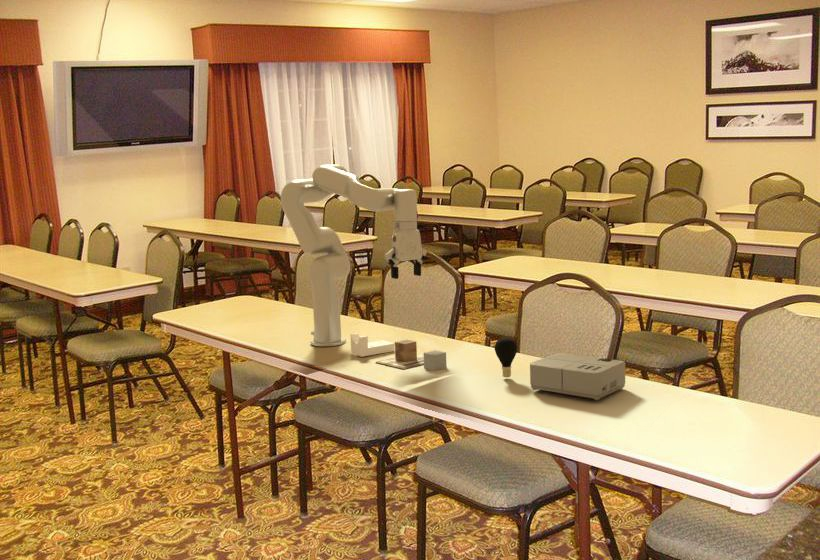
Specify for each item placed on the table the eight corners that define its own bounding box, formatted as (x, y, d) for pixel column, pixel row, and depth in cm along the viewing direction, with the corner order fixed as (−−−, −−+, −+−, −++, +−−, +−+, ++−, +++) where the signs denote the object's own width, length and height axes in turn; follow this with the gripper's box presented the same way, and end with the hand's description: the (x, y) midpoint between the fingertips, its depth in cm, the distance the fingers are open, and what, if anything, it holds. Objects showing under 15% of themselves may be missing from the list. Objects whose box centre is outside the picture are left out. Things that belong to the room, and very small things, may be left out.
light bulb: (522, 377, 257) (522, 337, 255) (506, 381, 252) (505, 341, 251) (506, 373, 262) (505, 334, 260) (490, 377, 258) (489, 337, 256)
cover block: (423, 352, 272) (434, 355, 268) (435, 350, 275) (446, 352, 271) (424, 368, 273) (434, 370, 269) (435, 365, 276) (446, 367, 272)
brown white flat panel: (375, 362, 282) (375, 361, 282) (412, 354, 292) (412, 353, 292) (403, 369, 272) (403, 368, 272) (440, 360, 282) (440, 359, 282)
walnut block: (395, 360, 283) (394, 342, 282) (407, 357, 286) (406, 339, 285) (405, 362, 279) (404, 344, 278) (417, 359, 282) (416, 341, 282)
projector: (598, 401, 229) (598, 372, 228) (528, 389, 244) (527, 362, 243) (627, 387, 242) (627, 360, 241) (559, 377, 256) (558, 351, 255)
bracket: (361, 359, 289) (360, 337, 288) (351, 355, 295) (350, 334, 294) (394, 353, 296) (393, 331, 295) (383, 350, 302) (383, 328, 301)
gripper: (391, 228, 281) (392, 280, 284) (432, 225, 292) (433, 275, 295) (378, 227, 287) (379, 278, 290) (418, 223, 298) (419, 273, 300)
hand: (406, 276), depth 292 cm, fingers open, 9 cm apart
